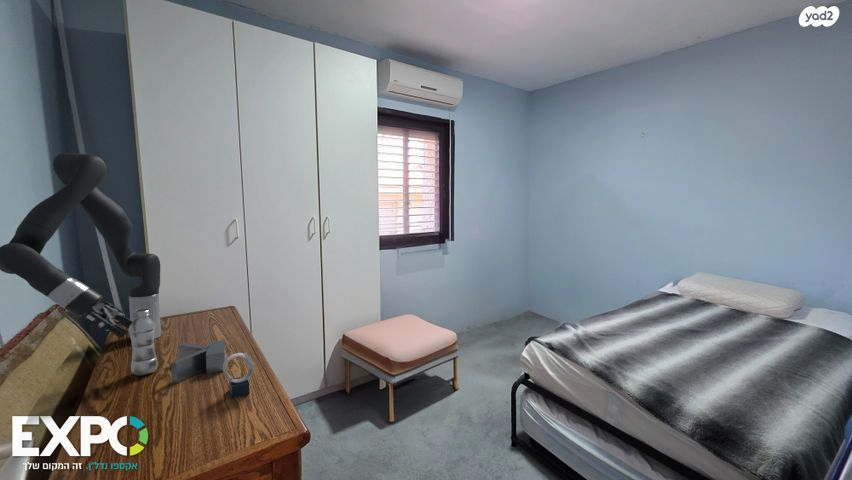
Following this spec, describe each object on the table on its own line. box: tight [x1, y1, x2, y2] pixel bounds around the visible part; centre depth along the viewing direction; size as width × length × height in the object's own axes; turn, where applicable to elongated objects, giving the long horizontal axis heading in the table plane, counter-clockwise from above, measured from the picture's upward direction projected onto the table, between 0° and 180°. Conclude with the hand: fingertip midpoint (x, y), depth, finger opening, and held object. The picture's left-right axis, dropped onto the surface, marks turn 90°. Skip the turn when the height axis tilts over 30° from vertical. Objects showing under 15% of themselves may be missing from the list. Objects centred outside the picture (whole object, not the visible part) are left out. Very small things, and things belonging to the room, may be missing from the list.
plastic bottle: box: [128, 309, 158, 376], centre depth 111 cm, size 6×7×20 cm
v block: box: [170, 339, 227, 384], centre depth 117 cm, size 18×14×6 cm
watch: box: [222, 352, 256, 399], centre depth 102 cm, size 6×8×11 cm
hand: (128, 330), depth 110 cm, fingers open, 8 cm apart
